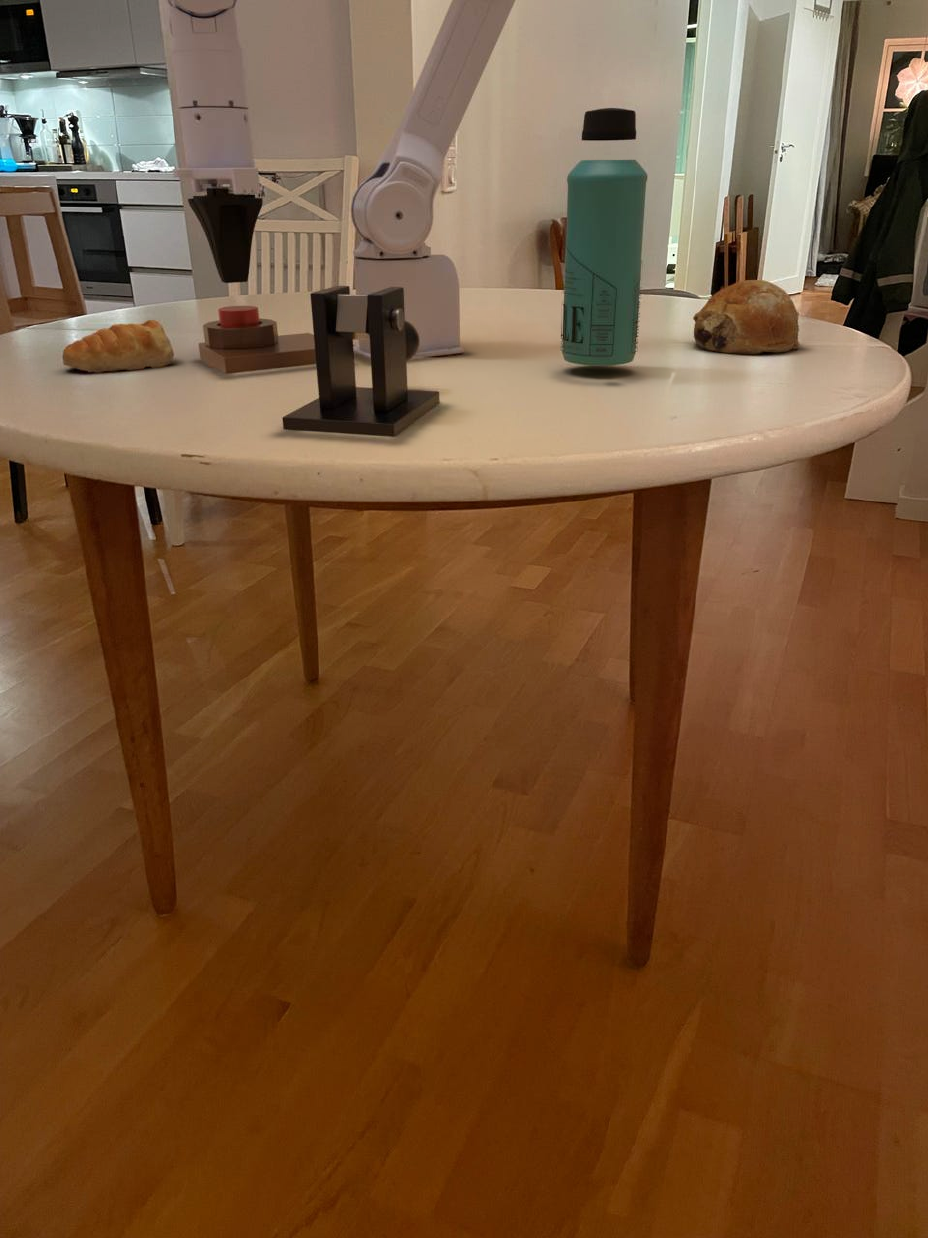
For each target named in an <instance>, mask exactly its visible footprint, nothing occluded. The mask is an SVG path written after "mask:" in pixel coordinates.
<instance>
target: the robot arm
mask: <svg viewBox="0 0 928 1238" xmlns="http://www.w3.org/2000/svg"><path fill="white" fill-rule="evenodd" d="M166 1H167V4H168V5H169V7H168V10H169V14H168V27H169V32H170V35H171V36H172V42H171V43H170V52H171V58H172V65H173V73H174V74H173V75H174V82H175V88H176V89H175V90H176V96H177V97H176V98H177V103H178V104H177V105H178V109H179V118H180V126H181V132H182V133H181V134H182V141H183V147H184V156H185V162H186V168H173V169H172V173H173V178H184V179H186V180H190V182H191V183H190V184H191V189H192V193H206V194H205V195H193V196H192V198H187V202H188V205H189V207H190V208H191V210H192V212H193V213H194V215H195V216H196V218H197V220H198V222H199V224H200V226H201V228H202V230H203V232H204V234H205V235H204V236H205V237H206V240H207V243H208V246H209V248H210V251H211V255H212V258H213V261H214V264H215V267H216V271H217V274H218V276H219V278H220V280H221V283H224V284H235V283H247V282H248V281H249V276H250V267H251V256H252V245H253V239H254V232H255V228H256V224H257V221H258V218H259V215H260V213H261V210H262V207H263V204H264V202H263V198H262V197H256V195H261V185H260V177H259V168H258V167H256V163H255V154H254V153H255V152H254V144H253V134H252V125H251V124H252V123H251V116H250V107H249V98H248V97H249V96H248V88H247V78H246V67H245V59H244V58H245V57H244V48H243V46H242V44H241V43H240V41H239V34H238V25H237V16H236V15H237V14H236V9H235V7H236V5H237V1H238V0H166ZM515 3H516V0H451V2H450V4H449V6H448V9H447V11H446V13H445V16H444V19H443V21H442V23H441V25H440V27H439V30H438V33H437V35H436V36H435V39H434V41H433V44H432V47H431V49H430V51H429V52H428V55H427V58H426V61H425V63H424V65H423V66H422V70H421V72H420V74H419V76H418V79H417V82H416V83H415V86H414V89H413V91H412V93H411V95H410V98H409V100H408V102H407V105H406V107H405V109H404V112H403V114H402V116H401V119H400V122H399V123H398V126H397V128H396V131H395V133H394V134H393V137H392V138H391V140H390V141H389V143H388V144H387V147H386V148H385V150H384V151H383V154H382V155H381V157H380V159H379V161H378V164H377V166H376V168H375V170H374V171H373V173H372V174H371V175H370V176H369V177H368V178H366V179H365V180H364V181H362V182H361V183H360V184H359V185H358V187H357V188H356V190H355V192H354V193H353V196H352V199H351V203H350V217H351V221H352V224H353V227H354V230H355V231H356V232H357V234H358V235H359V236H360V237H361V238H362V239H361V240H360V243H359V245H358V246H357V247H356V248H355V249H354V250H353V251H352V253H353V256H354V257H353V271H354V283H355V286H354V287H355V295H368V294H371V293H374V292H377V291H380V290H383V289H386V288H390V287H403V288H404V311H405V321H407V322H409V323H411V324H412V325H413V326H414V327H415V329H416V330H417V332H418V335H419V340H420V344H419V349H418V351H417V353H416V354H415V356H414V357H416V358H431V357H437V356H447V355H448V356H449V355H455V354H463V353H464V352H465V348H464V347H461V311H460V310H461V307H460V305H461V303H460V301H461V300H460V281H459V280H460V279H459V274H458V271H457V267H456V265H455V263H454V262H453V260H452V259H451V257H449V256H447V255H445V254H432V248H431V246H428V245H427V244H426V242H425V241H426V240H427V238H428V237H429V235H430V233H431V231H432V227H433V223H434V203H435V196H436V194H437V191H438V188H439V187H440V184H441V182H442V178H443V169H444V163H445V158H446V156H447V154H448V152H449V150H450V147H451V145H452V143H453V140H454V138H455V136H456V134H457V131H458V130H459V127H460V125H461V123H462V121H463V118H464V116H465V114H466V112H467V109H468V108H469V105H470V103H471V100H472V98H473V96H474V94H475V92H476V89H477V87H478V85H479V82H480V80H481V78H482V76H483V74H484V73H485V69H486V67H487V65H488V62H489V60H490V58H491V56H492V54H493V51H494V50H495V47H496V45H497V42H498V41H499V38H500V35H501V33H502V31H503V29H504V28H505V27H504V26H505V24H506V22H507V20H508V18H509V16H510V14H511V12H512V9H513V7H514V4H515ZM218 185H219V186H218ZM220 185H222V186H220ZM225 185H226V186H225ZM227 185H229V186H227ZM353 349H354V355H360V356H363V357H365V358H368V359H370V360H371V353H370V340H358V343H353ZM414 357H413V358H414Z"/></svg>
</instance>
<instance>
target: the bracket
mask: <svg viewBox="0 0 928 1238" xmlns="http://www.w3.org/2000/svg"><path fill="white" fill-rule="evenodd" d="M338 295H351V289H350V286H349V285H335V286H330V287H327V288H324V289H321V290H317V291H313V292H311V293H310V305H311V306H310V307H311V317H312V331H313V335H314V343H315V355H316V364H315V365H316V378H317V392H318V398H316V399H314V400H312V401H311V402H308V403H306V404H304V405H303V406H301V407H299V408H297V409H295V410H293V411H292V412H290V413H288V414H286V415H284V416H282V428H283V430H288V431H300V432H301V431H303V432H315V433H316V432H317V433H330V434H331V433H332V434H346V435H362V436H378V437H392V438H394V437H396V436H397V435H399V434H400V433H401V432H404V430H405V429H407V428H408V427H409V426H410V425H412V424H413V423H415V422H416V421H417V420H419V419H420V418H421V417H422V416H424V415H425V414H426V413H428V412H430V410H432V409H433V408H435V407H436V406H438V405H439V403H440V402H441V401H440V391H436V390H421V389H419V390H417V389H408V365H407V362H406V337H405V311H404V288H403V287H390V288H386V289H383V290H380V291H377V292H374V293H371V294H368V295H367V300H368V318H369V336H370V353H371V359H370V370H371V386H372V387H364V386H363V387H361V386H357V384H356V383H357V381H356V367H355V354H354V349H353V344H354V340H352V339H350V338H348V337H346V336H344V335H342V334H340V333H338V332H336V317H337V302H338Z"/></svg>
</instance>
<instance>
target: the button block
mask: <svg viewBox="0 0 928 1238" xmlns="http://www.w3.org/2000/svg"><path fill="white" fill-rule="evenodd" d="M259 321H260V324H259V325H254V326H244V327H224V326H220V321H219V320H212V321H208V322H205V324H203V325H202V329H203V337H204V342H198V351H199V357H200V362H201V363H203V364H204V365H206V366H208V367H210V368H211V369H212V368H216V369H218V370H220V371H221V372H223V373H224V374H227V375H228V374H236V373H244V372H255V371H264V370H273V369H282V368H291V367H303V366H309V365H311V366H312V365H316V355H315V343H314V333H310V332H303V333H292V334H291V333H290V334H281V335H279V332H278V322H277V321H275V320H273V319H270V318H260V317H259Z"/></svg>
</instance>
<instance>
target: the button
mask: <svg viewBox="0 0 928 1238" xmlns="http://www.w3.org/2000/svg"><path fill="white" fill-rule="evenodd" d="M217 312H218V319H219V321H220V326H224V327H244V326H254V325H259V324H260V321H259V318H260V314H259V313H260V311H259V308H258V306H254V305H229V306H223V307H219V308H218V309H217Z"/></svg>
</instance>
